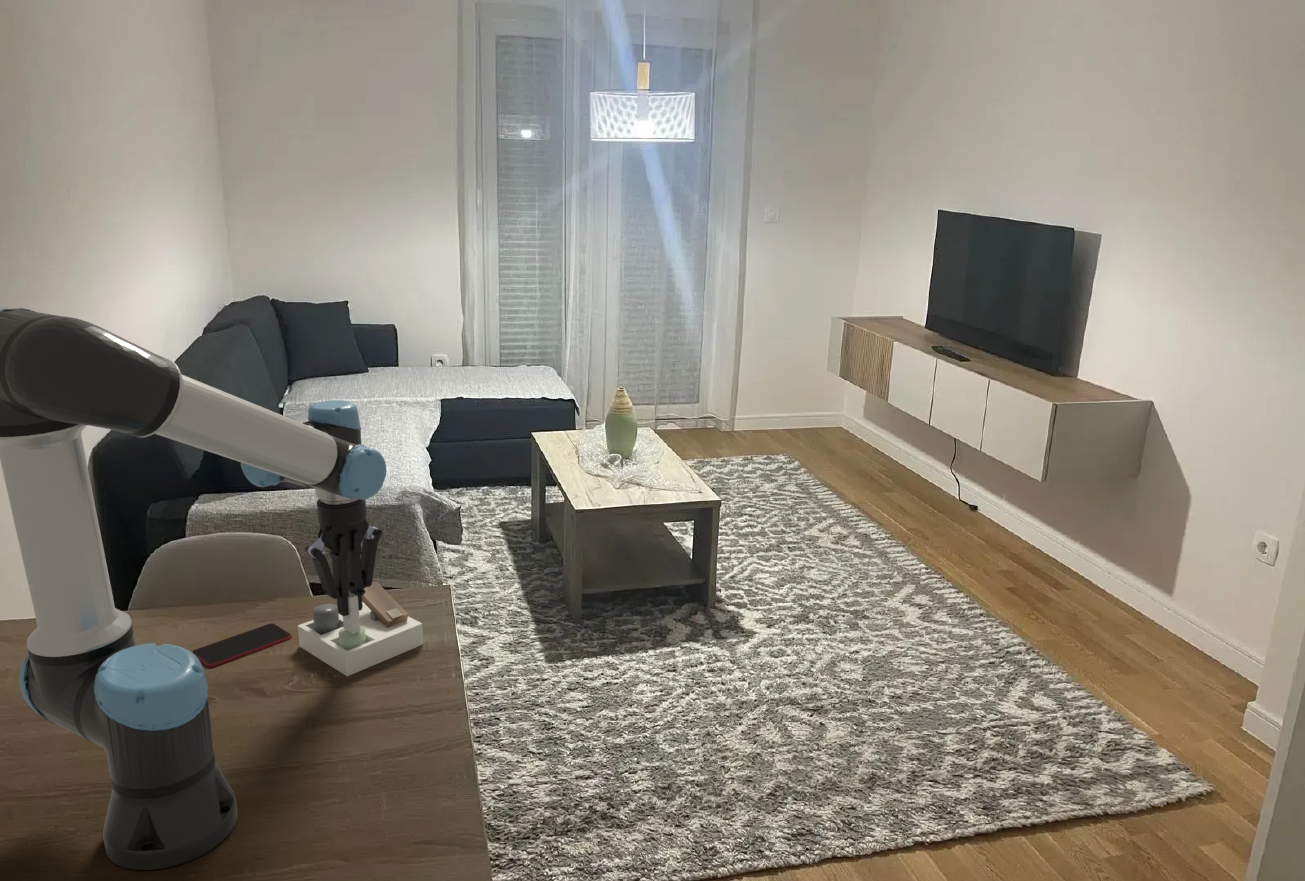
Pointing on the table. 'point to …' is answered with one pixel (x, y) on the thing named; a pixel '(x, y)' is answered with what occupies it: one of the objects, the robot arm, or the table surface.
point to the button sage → (351, 639)
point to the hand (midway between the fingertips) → (352, 630)
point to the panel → (375, 650)
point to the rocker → (383, 605)
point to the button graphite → (326, 618)
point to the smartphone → (241, 645)
